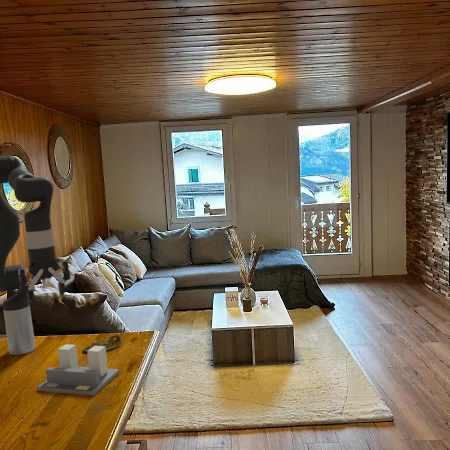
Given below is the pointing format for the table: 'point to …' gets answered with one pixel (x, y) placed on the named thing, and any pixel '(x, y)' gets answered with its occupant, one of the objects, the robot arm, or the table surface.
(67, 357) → the white rectangular block
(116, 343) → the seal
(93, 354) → the tall white pillar block
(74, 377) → the plate
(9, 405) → the table surface
